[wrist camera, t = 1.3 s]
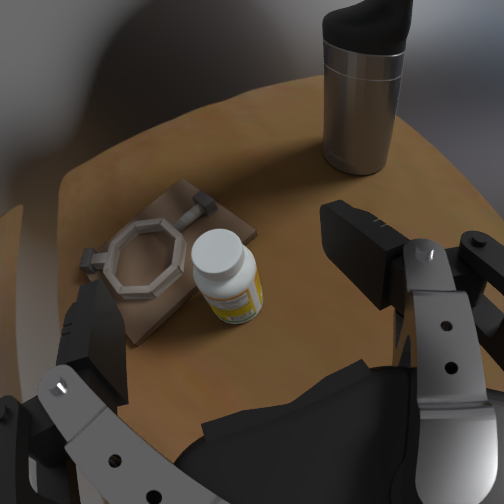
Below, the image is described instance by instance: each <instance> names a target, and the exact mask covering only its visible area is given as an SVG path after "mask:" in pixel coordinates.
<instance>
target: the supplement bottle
mask: <svg viewBox="0 0 504 504" xmlns="http://www.w3.org/2000/svg"><path fill="white" fill-rule="evenodd" d="M191 258H192V262H193V264H194V266H193V277H194V281H195V283H196V285H197V287H198V288H199V290H200V292H201V293H202V295H203V296H204V298H205V299H206V301H207V302H208V304H209V305H210V307H211V308H212V310H213V311H214V313H215V314H216V315H217V317H219V318H220V319H221V320H223V321H225V322H227V323H231V324H241V323H245V322H247V321H249V320H251V319H252V318H254V317H255V316H256V315H257V314H258V312H259V311H260V309H261V307H262V304H263V293H262V288H261V284H260V280H259V275H258V271H257V267H256V263H255V259H254V257H253V255H252V253H251V252H250V250H249V249H248V248H247V247H245V246H244V245H242V243H241V240H240V238H239V237H238V236H237V235H236V234H235V233H233V232H232V231H229V230H226V229H214V230H210V231H208V232H206V233H204V234H202V235H201V236H200V237H199V238H198V239H197V240H196V241H195V243H194V245H193V247H192V251H191Z"/></svg>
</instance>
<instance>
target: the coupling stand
mask: <svg viewBox="0 0 504 504" xmlns="http://www.w3.org/2000/svg"><path fill="white" fill-rule="evenodd" d="M214 229H226V230H229V231H232V232H233V233H235V234H236V235H237V236H238V237H239V238H240V240H241V243H242V245H244V246H246V245H247V244H248V243H249V242H250V241H251V240H253V239H254V238H255V237H256V236H257V232H256V230H255V229H254V228H253V227H251V226H250V225H248V224H247V223H246V222H244V221H243V220H241V219H240V218H239V217H237V216H236V215H234V214H233V213H232V212H230V211H229V210H227V209H226V208H225V207H223V206H222V205H220V204H219V203H217V202H216V201H215V200H214V199H213V198H212V197H210V196H209V195H207V194H206V193H204V192H203V191H202V190H199V189H198V188H196V187H195V186H193V185H192V184H190V183H189V182H187V181H186V180H185V179H183V178H182V179H181V180H179V181H178V182H177V183H175V184H174V185H173V186H172V187H170V188H169V189H168V190H167V191H165V192H164V193H163V194H162V195H160V196H159V197H158V198H157V199H156V200H154V201H153V202H152V203H151V204H149V205H148V206H147V207H146V208H145V209H144V210H142V211H141V212H140V213H139V214H138V215H136V216H135V217H134V218H133V219H132V220H131V221H129V222H128V223H127V224H126V225H125V226H124V227H123V228H121V229H120V230H119V231H118V232H117V233H116V234H115V235H114V236H112V237H111V238H110V239H109V240H108V241H107V242H106V243H105V244H104V245H103V246H101V247H100V248H99V249H98V250H97V251H95V250H94V249H93V248H87V249H84V252H83V255H82V258H81V262H80V266H79V267H80V268H81V269H82V270H83V271H84V272H85V273H86V275H87V276H88V278H89V280H90V281H94V280H97V279H101V280H102V281H103V282H104V284H105V285H106V287H107V289H108V291H109V293H110V295H111V296H112V298H113V300H114V302H115V303H116V305H117V307H118V309H119V310H120V312H121V314H122V317H123V320H124V324H125V333H126V334H127V335H128V337H129V338H130V339H131V341H132V342H133V343H134V344H135V345H136V346H138V347H139V346H140V345H141V344H142V343H143V342H144V341H145V340H146V339H147V338H148V337H149V336H150V335H151V334H152V333H153V332H154V331H155V330H156V329H158V328H159V327H160V326H161V325H162V324H163V323H164V322H165V321H166V320H167V319H168V318H169V317H170V316H171V315H172V314H173V313H174V312H176V311H177V310H178V309H179V308H180V307H181V306H182V305H183V304H184V303H185V302H186V301H187V300H188V299H189V298H190V297H192V296H193V295H194V294H195V293H196V292H197V291H198V290H199V288H198V287H197V285H196V283H195V281H194V277H193V266H194V264H193V262H192V258H191V251H192V247H193V245H194V243H195V241H196V240H197V239H198V238H199V237H200V236H201V235H202V234H204V233H206V232H208V231H210V230H214Z"/></svg>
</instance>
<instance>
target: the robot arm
mask: <svg viewBox="0 0 504 504" xmlns="http://www.w3.org/2000/svg"><path fill="white" fill-rule="evenodd" d="M412 6H413V0H364V1H362V2H361V3H358V4H356V5H353V6H350V7H347V8H343V9H338V10H335V11H332V12H330V13H328V14H327V15H326V16H325V17H324V19H323V24H322V26H323V27H322V28H323V57H324V59H323V60H324V133H323V154H324V157H325V158H326V160H327V161H328V162H329V163H330V164H331V165H332V166H333V167H335V168H336V169H338V170H340V171H343V172H345V173H349V174H354V175H368V174H373V173H375V172H378V171H379V170H381V169H382V168H383V167H384V165H385V163H386V160H387V155H388V151H389V146H390V141H391V137H392V132H393V127H394V121H395V116H396V110H397V104H398V97H399V91H400V85H401V78H402V70H403V62H404V54H405V46H406V39H407V36H408V33H409V30H410V25H411V17H412ZM320 221H321V235H322V245H323V249H324V251H325V254H326V255H327V257H328V258H329V259H330V260H331V261H332V262H333V263H334V264H335V265H336V266H337V267H338V268H339V269H340V270H341V271H342V272H343V273H344V274H345V275H346V276H347V277H348V278H349V279H350V280H351V281H352V282H353V283H354V284H355V285H356V286H357V287H358V289H359V290H360V291H361V292H362V293H363V294H364V295H365V296H366V297H367V298H368V299H369V300H370V301H371V302H372V303H373V304H374V305H375V306H376V307H377V308H378V309H379V310H382V309H384V308H386V307H388V306H390V305H392V306H393V307H394V308H395V309H394V315H393V361H392V366H380V367H374V368H368V366H367V365H366V364H365V362H364V361H363V360H362V359H361V360H359V361H357V362H355V363H353V364H351V365H349V366H347V367H345V368H343V369H341V370H339V371H337V372H335V373H333V374H330V375H328V376H326V377H325V378H324V379H322V380H321V381H320V382H318V383H317V384H316V385H314V386H313V387H312V388H310V389H309V390H308V391H306V392H305V393H304V394H302V395H301V396H300V397H298V398H297V399H296V400H294V401H293V402H291V403H288V404H284V405H278V406H272V407H265V408H258V409H251V410H243V411H240V412H237V413H234V414H231V415H228V416H225V417H222V418H219V419H215V420H212V421H209V422H206V423H202V424H201V426H202V430H203V433H204V436H202V437H201V438H199V439H198V440H196V441H195V442H193V443H192V444H191V445H190V446H188V447H187V448H186V449H185V450H184V451H183V452H182V453H181V454H180V456H179V457H178V458H177V459H176V461H175V462H174V463H172V462H171V461H170V460H168V459H167V458H166V457H164V456H163V455H162V454H161V453H159V452H158V451H157V450H156V449H155V448H153V447H152V446H151V445H150V444H149V443H147V442H146V441H145V440H144V439H143V438H142V437H140V436H139V435H138V434H137V433H136V432H135V431H134V430H133V429H131V428H130V427H129V426H128V425H127V424H126V423H125V422H124V421H123V420H122V419H121V418H120V417H118V416H117V406H122V405H126V404H129V402H128V389H127V372H126V344H125V324H124V320H123V317H122V314H121V312H120V310H119V309H118V307H117V305H116V303H115V302H114V300H113V298H112V296H111V295H110V293H109V291H108V289H107V287H106V285H105V284H104V282H103V281H102V280H101V279H97V280H94V281H91V282H88V283H86V284H83V285H81V286H80V289H79V293H78V297H77V302H75V303H73V304H72V305H71V307H70V308H69V310H68V312H67V313H66V315H65V320H64V324H63V326H64V328H63V329H62V334H61V335H62V337H61V339H60V344H59V349H58V355H57V361H56V366H55V367H53V368H52V369H50V370H49V371H48V372H47V373H46V374H45V375H44V376H43V377H42V379H41V381H40V383H39V386H38V395H37V396H35V397H33V398H32V399H30V400H28V401H27V402H25V403H23V404H21V403H20V402H19V401H18V400H17V399H15V398H14V397H13V396H9V395H8V396H4V397H2V398H0V504H81V502H80V496H79V489H78V481H77V473H76V465H77V466H78V467H79V469H80V470H81V471H82V472H83V474H84V475H85V476H86V477H87V479H88V480H89V481H90V482H91V483H92V484H93V486H94V487H95V488H96V489H97V490H98V491H99V493H100V494H101V495H102V496H103V497H104V498H105V499H106V500H107V501H108V502H109V504H504V392H501V391H497V390H492V389H488V388H486V386H485V378H484V371H483V364H482V358H481V352H480V347H479V344H480V345H481V346H482V347H483V348H484V349H485V350H486V351H487V353H488V354H489V355H490V356H491V357H492V358H493V359H494V360H495V362H496V363H497V364H498V365H499V366H500V367H501V369H502V370H503V371H504V314H503V313H502V312H501V311H500V310H499V309H498V308H497V307H496V306H495V305H494V304H493V303H492V302H491V301H490V300H489V299H488V298H487V297H485V296H484V295H483V293H484V290H485V287H486V284H487V281H488V282H489V283H490V284H491V285H492V286H494V287H495V288H496V289H497V290H498V291H499V292H500V293H501V294H503V296H504V246H503V245H501V244H500V243H499V242H497V241H496V240H495V239H493V238H492V237H490V236H489V235H487V234H485V233H482V232H479V231H467V232H465V233H463V234H462V236H461V240H460V245H459V247H454V248H448V249H444V248H443V247H442V246H441V245H440V244H438V243H436V242H434V241H432V240H428V239H414V240H409V239H408V238H406V237H405V236H403V235H402V234H401V233H399V232H398V231H396V230H395V229H393V228H392V227H390V226H389V225H386V223H384V222H383V221H381V220H378V218H377V217H375V216H374V215H372V214H371V213H369V212H367V211H363V210H360V209H357V208H353V207H352V206H350V205H349V204H347V203H346V202H344V201H342V200H337V201H334V202H330V203H327V204H324V205H322V206H321V207H320ZM29 457H30V458H31V459H33V460H34V461H36V477H37V492H36V491H35V490H34V489H33V488H32V486H31V483H30V480H29Z"/></svg>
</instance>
